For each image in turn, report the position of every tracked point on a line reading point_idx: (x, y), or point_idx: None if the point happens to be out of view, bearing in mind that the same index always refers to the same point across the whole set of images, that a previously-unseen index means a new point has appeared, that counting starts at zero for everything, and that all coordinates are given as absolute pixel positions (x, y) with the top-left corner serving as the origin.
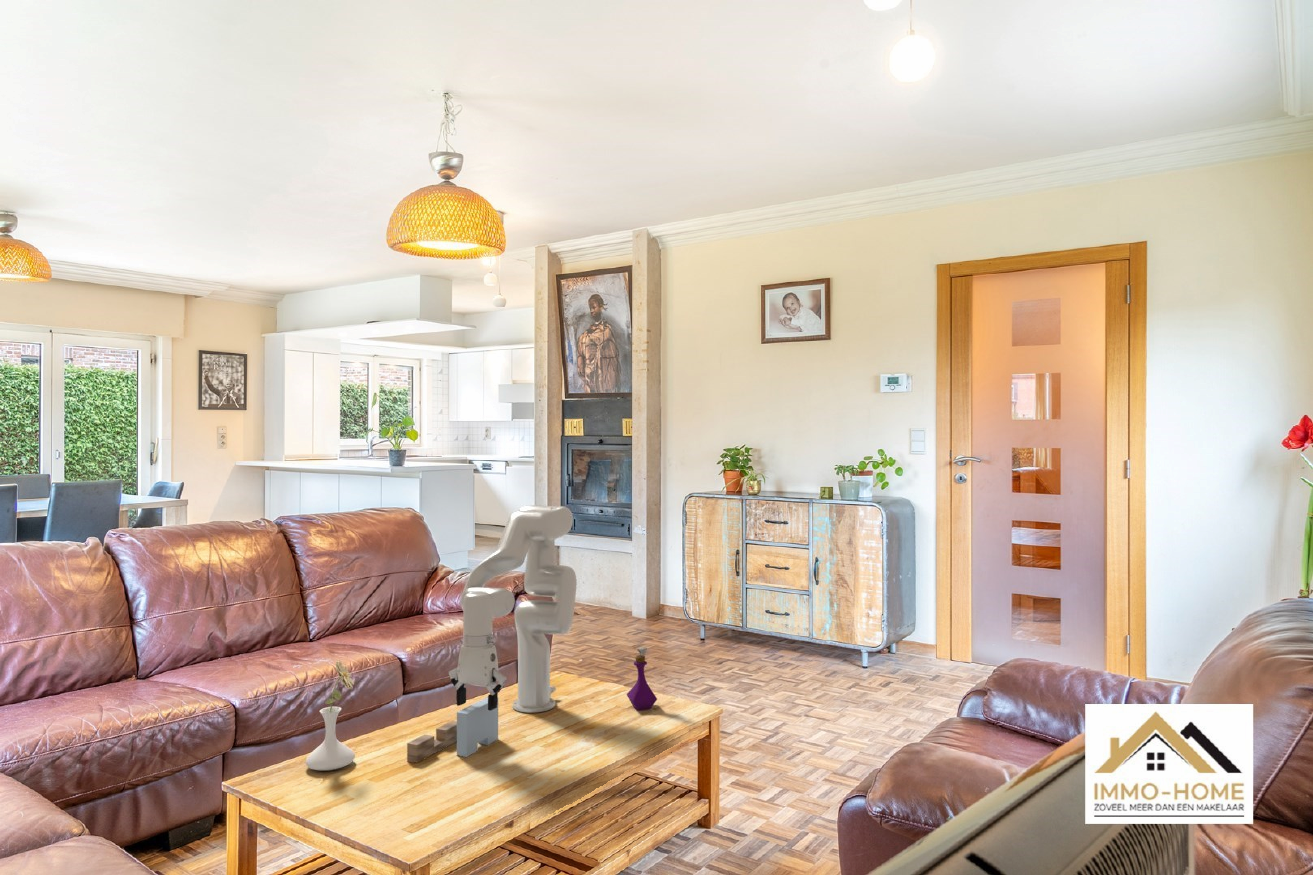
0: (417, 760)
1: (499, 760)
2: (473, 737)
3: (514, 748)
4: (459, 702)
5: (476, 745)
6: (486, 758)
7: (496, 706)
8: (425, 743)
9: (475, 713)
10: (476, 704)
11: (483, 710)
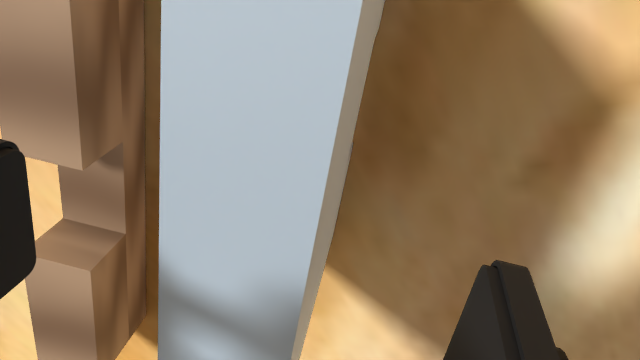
0: (140, 319)
1: (540, 254)
2: (330, 233)
3: (604, 55)
4: (10, 282)
5: (346, 170)
6: (452, 237)
7: (522, 276)
8: (104, 319)
9: (298, 338)
10: (206, 227)
11: (325, 211)
